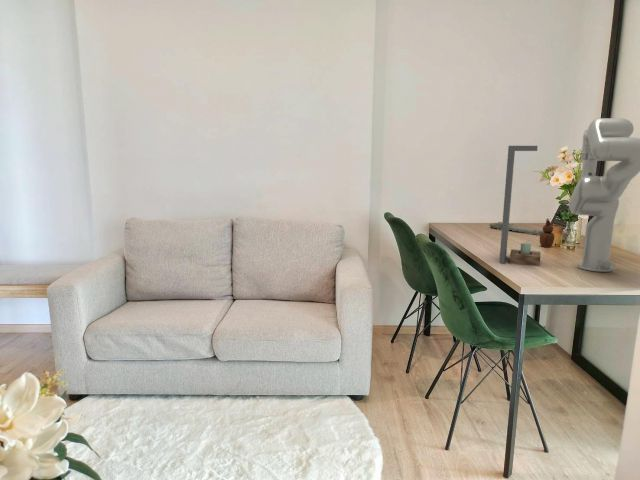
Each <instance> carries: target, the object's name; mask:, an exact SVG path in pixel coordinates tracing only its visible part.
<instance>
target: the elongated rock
mask: <svg viewBox="0 0 640 480" xmlns="http://www.w3.org/2000/svg"><path fill="white" fill-rule="evenodd" d="M502 222H503V221H498V222H494V223H490V224H489V227H490V228H491V227H492V228H491V229H494V228H498V229H502ZM498 229H497V230H498ZM508 230H512V231H511V232H516V231H519V232H518V233H522V232H525V233H532V234H531V235H534V234H542V233H543V230H541V229H539V228H538V229H537V228H530V227H522V226H518V225H516V224H514V223H509V228H508ZM525 233H524V234H525Z"/></svg>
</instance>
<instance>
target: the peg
mask: <svg viewBox="0 0 640 480" xmlns="http://www.w3.org/2000/svg"><path fill="white" fill-rule="evenodd" d="M531 249H532V244H531V243H525V242H523V243H521V244H520V250H521V251H520V254H530V251H532V250H531Z"/></svg>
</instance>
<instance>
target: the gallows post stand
mask: <svg viewBox="0 0 640 480" xmlns="http://www.w3.org/2000/svg"><path fill="white" fill-rule="evenodd" d="M507 147H508V148H507V160H506V162H507V163H506V176H505V188H504V198H503V199H504V200H503V201H504V202H503V213H502V221H501V222H502V230H501V236H500V238H501V239H500V248H499V249H500V250H499V264H505V263H506V258H507V251H508V250H507V249H508V240H509V239H508V238H509V231H508V228H509V224H510V217H511V216H510V215H511V204H512V203H511V201H512V191H513V190H512V189H513V176H514V166H515V165H514V164H515V155H516V153H515V152H537V151H538V145H508V146H507Z"/></svg>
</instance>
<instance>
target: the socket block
mask: <svg viewBox="0 0 640 480" xmlns="http://www.w3.org/2000/svg"><path fill="white" fill-rule="evenodd" d="M520 251H521V249H515V248H514V249H512V248H511V249H510V253H509V262H508V263H509V264H514V265H525V266H534V267H540V266H541V251H536V250H535V251H534V250H530V254H520Z"/></svg>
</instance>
